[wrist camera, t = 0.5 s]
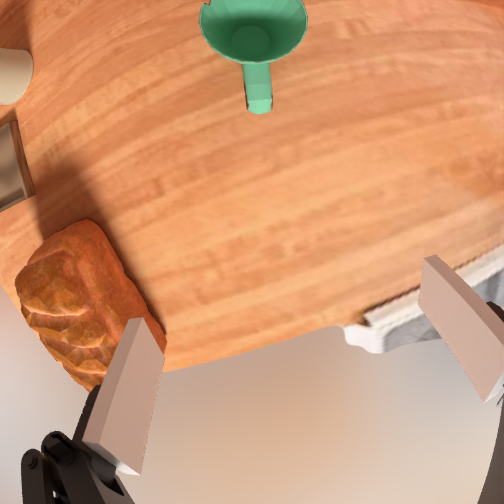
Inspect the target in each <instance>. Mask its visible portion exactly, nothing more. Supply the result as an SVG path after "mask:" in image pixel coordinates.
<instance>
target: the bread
mask: <svg viewBox="0 0 504 504" xmlns="http://www.w3.org/2000/svg"><path fill="white" fill-rule="evenodd" d="M15 287H16V290H17V294H18V296H19V298H20V303H21V311H22V314H23V316H24V318H25V319H26V321H27V323H28V325H29V327H31V328H32V329H34V330H36V331H37V332H39V336H40V340H41V341H42V343H43V344H44V346H45V347H46V348H47V350H48V351H49V352H50V353H51V355H52V356H53V357H54V358H55V360H56V361H60V362H62V364H63V367H64V369H65V370H66V371H67V372H68V373H69V374H70V375H71V377H72V378H73V379H74V380H75V381H76V382H77V383H78V384H80V385H82V386H84V388H85V389H86V390H87V391H88V392H89V393H90V392H91V391H92V389H93V388H94V387H95V386H96V385H102V383H103V380H104V378H105V375H106V372H107V370H108V367H109V365H110V362H111V360H112V358H113V355H114V353H115V350H116V348H117V346H118V343H119V341H120V339H121V336H122V334H123V332H124V329H125V327H126V325H127V323H128V320H129V319H134V318H141V317H143V318H144V320H145V322H146V324H147V326H148V328H149V330H150V332H151V333H152V335H153V337H154V339H155V341H156V343H157V344H158V346H159V348H160V350H161V351H162V353H163V355H164V353H165V349H166V344H167V340H166V337H165V335H164V333H163V331H162V329H161V327H160V325H159V323H158V322H157V321H156V320H155V319H154V317H153V316H152V315H151V314H150V312H149V311H148V309H147V305H146V303H145V301H144V300H143V298H142V296H141V295H140V293H139V291H138V290H137V288H136V286H135V285H134V283H133V282H132V281H131V280H130V279H129V278H128V277H127V276H126V274H125V271H124V268H123V266H122V263H121V261H120V260H119V258H118V256H117V255H116V253H115V251H114V249H113V248H112V246H111V244H110V242H109V241H108V239H107V237H106V236H105V234H104V232H103V231H102V229H101V227H100V226H99V225H97V224H96V223H94V222H93V221H90V220H88V219H84V220H81V221H78V222H75V223H73V224H71V225H70V226H68V227H66V228H65V229H63V230H62V231H60V232H56V233H54V234H53V235H51V236H50V237H48V238H47V239H46V240H45V241H44V242H43V244H42V245H41V246H40V247H39V248H38V249H37V250H36V251H35V252H34V254H33V255H32V256H31V257H30V259H29V260H28V263H27V266H25V267H24V268H23V269H22V270H21V272H20V273H19V274H18V275H17V277H16V279H15Z"/></svg>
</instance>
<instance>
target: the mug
mask: <svg viewBox="0 0 504 504" xmlns="http://www.w3.org/2000/svg"><path fill="white" fill-rule="evenodd" d="M307 23H308V15H307V12H306V9H305V6H304V3H303V2H302V1H301V0H210V2H209V5H208V4H206V3H204V4H203V5H202V7H201V9H200V17H199V24H200V28H201V32H202V35H203V37H204V39H205V40H206V41H207V43H208V44H209V45H210V47H211V48H212V49H213V50H214V51H216V52H217V53H219V54H220V55H222V56H223V57H224V58H226V59H229V60H232V61H235V62H238V63H241V64H242V70H243V80H244V89H245V97H246V106H247V110H249V111H250V112H253V113H255V114H263V113H267V112H269V111H270V110H272V104H273V95H272V84H271V75H270V67H269V62H274V61H276V60H278V59H280V58H282V57H284V56H286V55H288V54H290V53H291V52H292V51H293V50H294V49H295V48H296V47H297V46H298V45H299V44H300V43H301V41H302V39H303V37H304V35H305V33H306V31H307Z"/></svg>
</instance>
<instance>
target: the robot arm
mask: <svg viewBox="0 0 504 504" xmlns="http://www.w3.org/2000/svg"><path fill="white" fill-rule="evenodd" d="M418 306H419V307H420V308H421V310H422V311H423V312H424V314H425V315H426V316H427V318H428V319H429V320H430V322H431V323H432V324H433V326H434V327H435V329H436V330H437V331H438V333H439V334H440V336H441V337H442V339H443V340H444V341H445V343H446V344H447V346H448V347H449V349H450V350H451V352H452V353H453V355H454V356H455V358H456V359H457V361H458V362H459V364H460V365H461V367H462V368H463V370H464V371H465V373H466V374H467V376H468V378H469V379H470V381H471V382H472V384H473V386H474V387H475V389H476V391H477V392H478V394H479V395H480V397H481V399H482V401H483V402H484V403H485V402H486V401H488V400H490V399H491V398H493V397H494V396H496V395H497V394H498V393H499V391H500V390H501V388H502V386H504V311H503V310H502V309H501V307H500V306H498V305H496V304H494V303H493V302H491V301H489V302H487V303H485V302H484V301H483V300H482V299H481V298H480V296H479V295H478V294H477V293H476V292H475V291H474V290H473V289H472V288H471V287H470V286H469V285H468V284H467V283H466V282H465V281H464V280H463V279H462V278H461V277H460V276H458V275H457V274H456V273H455V272H454V271H453V270H452V269H451V268H450V267H449V266H448V265H447V264H446V263H445V262H444V261H443V260H441V259H440V258H439V257H438V256H437V255H433V256H430V257H426V258H423V269H422V278H421V287H420V294H419V301H418ZM164 361H165V357H164V355H163V353H162V351H161V350H160V348H159V346H158V344H157V343H156V341H155V339H154V337H153V335H152V333H151V332H150V330H149V328H148V326H147V324H146V322H145V320H144V318H143V317H141V318H134V319H129V320H128V323H127V325H126V327H125V329H124V332H123V334H122V336H121V339H120V341H119V343H118V346H117V348H116V350H115V353H114V355H113V358H112V360H111V362H110V365H109V367H108V370H107V372H106V375H105V378H104V380H103V383H102V385H96V386H95V387H94V388H93V389H92V391H91V392H90V393H89V395H88V398H87V400H86V403H85V404H86V405H85V406H84V408H83V411H82V412H83V413H82V414H81V416H80V419H79V422H78V425H77V427H76V430H75V433H74V436H73V439H72V440H70V439H69V438H68V437H67V436H66V435H64V434H63V433H61V432H60V431H54V432H51V433H49V434H48V435H47V436H46V437H45V438H44V440H43V442H42V445H41V452H42V453H43V454H44V455H43V454H42V453H41V452H40V451H38V450H36V449H30V450H28V451H26V453H25V454H24V455H23V457H22V461H21V480H22V495H23V496H22V497H23V504H135V503H134V502H133V500H132V499H131V497H130V495H129V494H128V492H127V490H126V489H125V487H124V485H123V484H122V482H121V480H120V479H119V477H118V476H117V475H116V474H115V471H116V468H117V469H119V470H120V471H122V472H123V473H127V474H134V475H141V470H142V465H143V459H144V454H145V448H146V443H147V438H148V433H149V428H150V422H151V418H152V413H153V408H154V404H155V399H156V395H157V391H158V386H159V382H160V378H161V374H162V369H163V365H164ZM502 401H503V404H502V411H501V417H500V423H499V429H498V434H497V439H496V443H495V447H494V452H493V456H492V460H491V463H490V467H489V471H488V475H487V477H486V480H485V483H484V486H483V489H482V492H481V495H480V498H479V501H478V504H504V394H503V396H502V397H501V399H500V400H499V401H498V403H497V406H496V407H499V406H500V404H501V403H502ZM53 491H54V492H55V493H56V497H54V496H53Z"/></svg>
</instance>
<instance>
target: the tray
mask: <svg viewBox="0 0 504 504" xmlns="http://www.w3.org/2000/svg"><path fill="white" fill-rule="evenodd" d="M35 194H36V193H35V190H34V187H33V183H32V180H31V177H30V173H29V170H28V166H27V162H26V158H25V154H24V150H23V146H22V142H21V137H20V132H19V127H18V122H17V120H15V121H9V122H7V123H6V124H5V125H3V126H2V127H1V128H0V212H2V211H4V210H6V209H8V208H10V207H12V206H14V205H15V204H17V203H19V202H21V201H23V200H25V199H27V198H29V197H31V196H33V195H35Z"/></svg>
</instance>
